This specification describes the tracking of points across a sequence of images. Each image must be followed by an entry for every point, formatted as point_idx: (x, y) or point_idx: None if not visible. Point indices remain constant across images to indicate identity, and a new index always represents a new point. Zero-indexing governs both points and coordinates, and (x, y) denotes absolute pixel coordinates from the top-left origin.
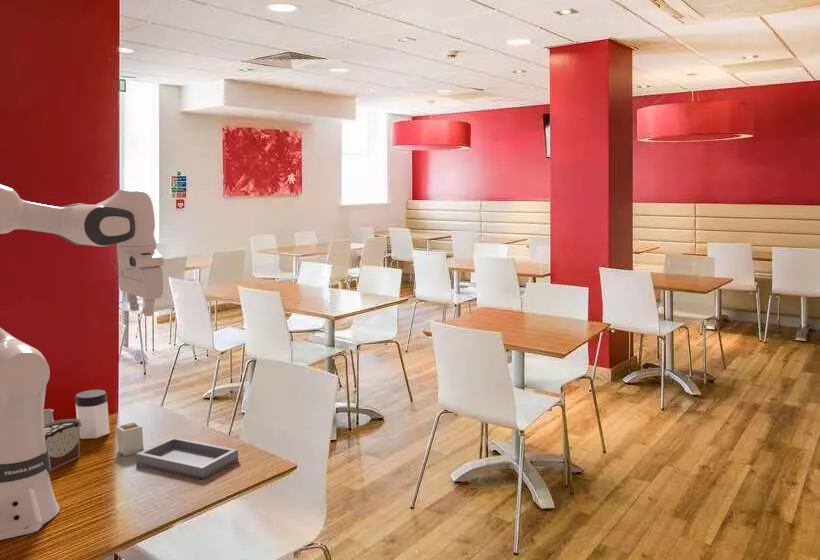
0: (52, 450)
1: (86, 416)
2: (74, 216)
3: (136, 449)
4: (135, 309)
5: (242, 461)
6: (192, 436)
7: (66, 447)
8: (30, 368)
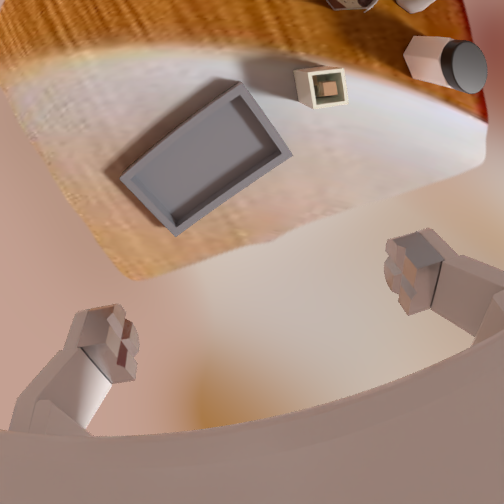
0: None
1: (431, 47)
2: None
3: (298, 90)
4: (392, 262)
5: None
6: (322, 185)
7: None
8: None
